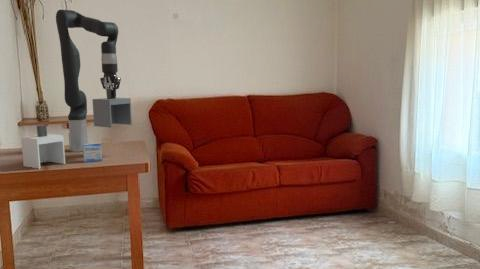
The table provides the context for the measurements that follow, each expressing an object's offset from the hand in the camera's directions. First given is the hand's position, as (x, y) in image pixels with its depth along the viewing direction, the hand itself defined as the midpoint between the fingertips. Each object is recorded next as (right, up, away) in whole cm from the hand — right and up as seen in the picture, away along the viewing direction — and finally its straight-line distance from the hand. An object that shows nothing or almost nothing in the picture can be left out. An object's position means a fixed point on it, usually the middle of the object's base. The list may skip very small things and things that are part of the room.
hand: (111, 97), depth 235 cm
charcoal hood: (0, -14, +2) cm, 14 cm away
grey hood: (-27, -33, -16) cm, 46 cm away
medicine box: (-7, -32, -9) cm, 34 cm away
